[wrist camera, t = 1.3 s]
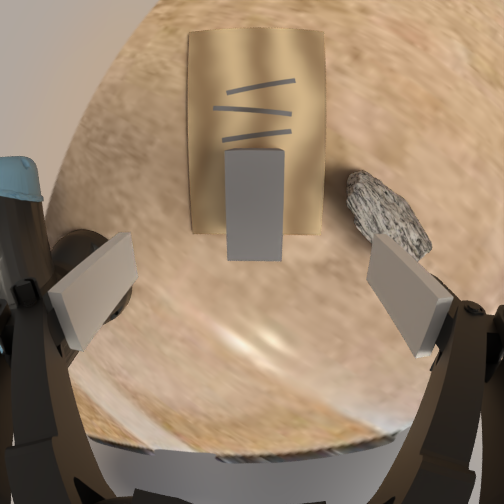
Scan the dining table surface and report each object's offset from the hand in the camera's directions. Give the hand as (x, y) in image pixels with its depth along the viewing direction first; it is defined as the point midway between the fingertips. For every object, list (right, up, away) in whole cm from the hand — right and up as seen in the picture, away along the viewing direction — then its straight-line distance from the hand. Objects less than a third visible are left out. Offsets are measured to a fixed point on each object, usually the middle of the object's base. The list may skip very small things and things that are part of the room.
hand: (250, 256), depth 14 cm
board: (+1, +15, +16) cm, 22 cm away
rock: (+17, +5, +20) cm, 26 cm away
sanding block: (+1, +7, +18) cm, 20 cm away
